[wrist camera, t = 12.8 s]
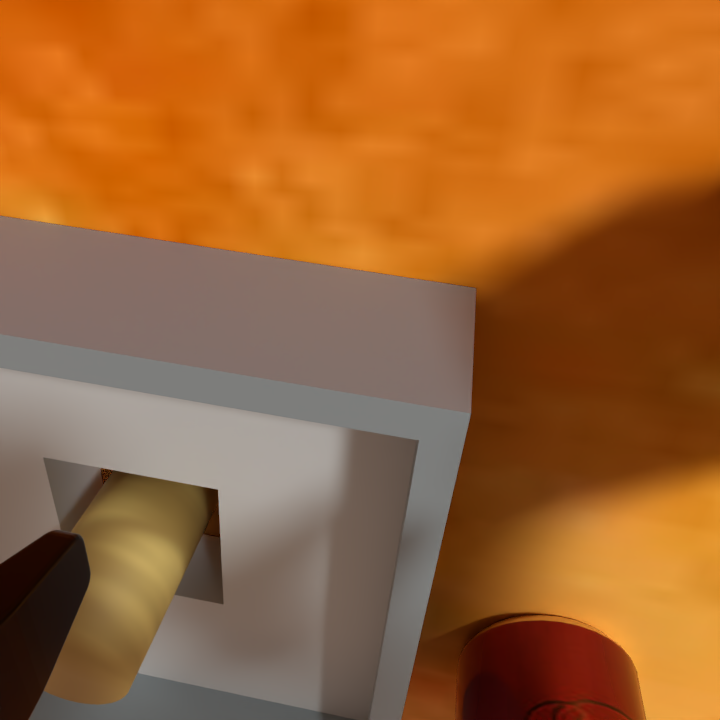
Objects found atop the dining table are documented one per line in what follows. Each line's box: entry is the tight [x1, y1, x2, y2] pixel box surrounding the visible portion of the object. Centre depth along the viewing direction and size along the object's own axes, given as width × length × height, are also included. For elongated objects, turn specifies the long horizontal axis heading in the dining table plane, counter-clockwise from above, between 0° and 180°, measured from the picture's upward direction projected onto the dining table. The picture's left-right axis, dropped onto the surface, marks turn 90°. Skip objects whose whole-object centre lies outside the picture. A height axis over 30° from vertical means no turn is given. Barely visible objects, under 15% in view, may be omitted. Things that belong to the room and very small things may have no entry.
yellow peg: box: [44, 470, 219, 705], centre depth 23 cm, size 4×4×8 cm
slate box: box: [0, 216, 476, 720], centre depth 23 cm, size 20×20×6 cm
